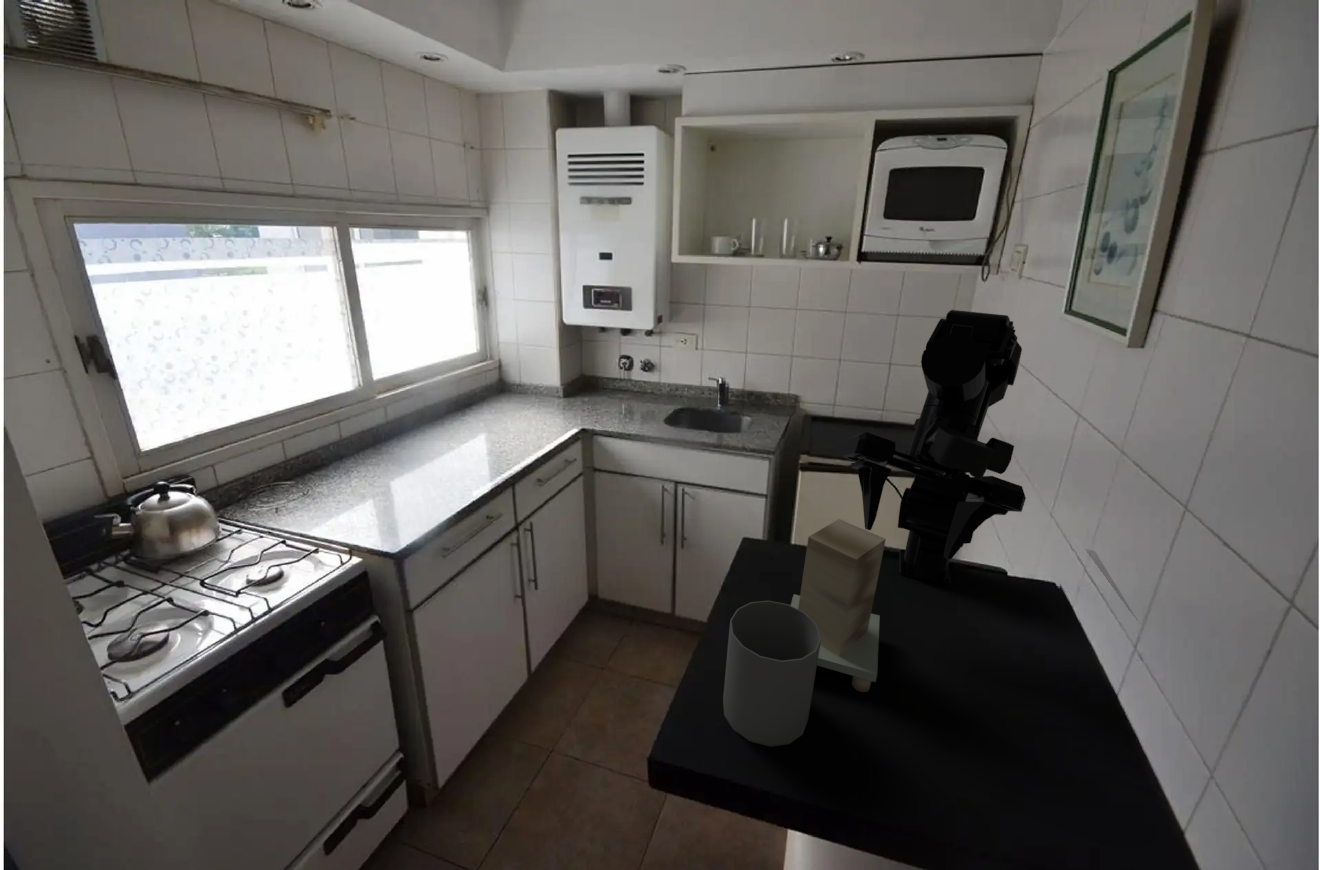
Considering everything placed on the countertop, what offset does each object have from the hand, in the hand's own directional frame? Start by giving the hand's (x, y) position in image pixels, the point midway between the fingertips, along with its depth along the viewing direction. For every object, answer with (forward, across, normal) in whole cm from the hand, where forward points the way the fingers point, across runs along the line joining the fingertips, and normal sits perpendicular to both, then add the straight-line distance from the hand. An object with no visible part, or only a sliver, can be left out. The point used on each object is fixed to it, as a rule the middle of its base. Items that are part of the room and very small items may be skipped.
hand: (907, 543), depth 63 cm
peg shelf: (+15, -4, +2) cm, 15 cm away
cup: (+21, -10, -6) cm, 24 cm away
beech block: (+12, -5, 0) cm, 13 cm away
